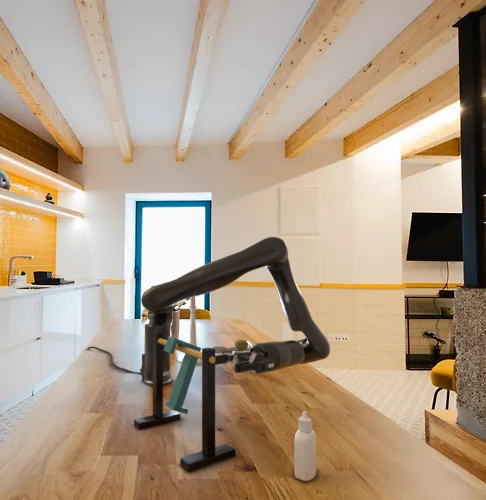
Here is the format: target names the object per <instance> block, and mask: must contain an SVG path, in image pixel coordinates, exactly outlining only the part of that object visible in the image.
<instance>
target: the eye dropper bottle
mask: <svg viewBox="0 0 486 500" xmlns="http://www.w3.org/2000/svg"><path fill="white" fill-rule="evenodd" d="M297 420H298V429H297V431H296V432H295V434H294V442H293V444H294V446H293V448H294V449H293V450H294V451H293V453H294V454H293V455H294V456H293V457H294V458H293V459H294V462H293V464H294V468H293V469H294V478H296V479H298V480H300V481H303V482H309V481H311V480H313V479H314V478H315V477H316V475H317V435H316V432H315V431H314V430H313V427H312V426H313V423H312V419H311V417H309V415H308V411H306V410H303V411H302V415H301V416H299V417H298V418H297Z"/></svg>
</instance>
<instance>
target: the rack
mask: <svg viewBox="0 0 486 500" xmlns="http://www.w3.org/2000/svg"><path fill="white" fill-rule="evenodd" d="M166 342H167V340H165V339H163V332H160V331H159V332H153V385H152V414H151V415H146V416H143V417H138V418H134V419H133V425H134V427H135V428H136V429H138V430H139V431H140V430H143V429H147V428H151V427H155V426H159V425H163V424H164V425H165V424H168V423H172V422H175V421H180V420H181V412H177V411H173V410H172V409H171V410H169V411H168V410H167V411H164V385H163V345H166ZM175 351H178V352H180V353H183V354H185V353H186V354H188V355H191V356H194V357H196V358H199V359H202V364H201V451H198V452H194V453H192V454H188V455H185V456H182V457H180V459H179V461H180V464H179V465H180V467H182V468H183V469H184V470H185V471H186V472H188V473H191V472H193V471H197V470H200V469H203V468H205V467H208V466H211V465H214V464H217V463H220V462H223V461H226V460H229V459H232V458H235V457H236V454H237V453H236V452H237V451H236V448H235V447H234V446H232V445H230V444H228V443H224V444H221V445H218V446H216V364H215V356H216V353H215V349H213V347H201V351H200V352H199V351H196V350H193V349H190V348H188V347H185V346H182V345H179V344H177V345H176V348H175Z"/></svg>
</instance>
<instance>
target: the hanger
mask: <svg viewBox="0 0 486 500" xmlns="http://www.w3.org/2000/svg"><path fill="white" fill-rule="evenodd" d="M177 344H179V345H182V346H185V347H188V348H190V349H193V350H196V351H199V352H202V347H200V346H198V345H197V346H195V345H192V344H189V342H187V341H185V340H181V339H179V338H176V337H173V336H171V337H170V336H168V339H167V342H166V345H165V348H164V351H166V352H168V353H171V355H174V353H175V351H176V350H175V348H176V345H177ZM184 354H185V355H184V358H183V361H182V363H181V364H180V367H179V370H178V373H177V375H176V378H175V382H174V385H173V388H172V390H171V394H170V397H169V400H165V402H164V406H165V407H167V408H169V409H170V410H171V411H172V410H173V411H177V412H179V413H180V414H181V413H182V414H185V415H187V414H188V413H189V409H188V408H186V407H185V406H184V404H185V400H186V396H187V395H188V391H189V388H190V385H191V382H192V378H193V375H194V372H195V369H196V366H197V364H196V363H197V360H198V358H196V357H194V356H191V355H188V354H186V353H184Z"/></svg>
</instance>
